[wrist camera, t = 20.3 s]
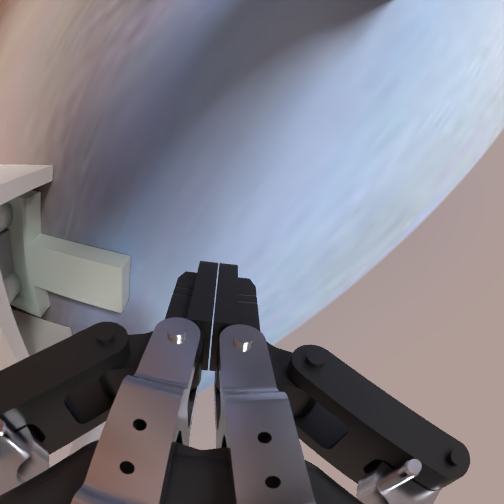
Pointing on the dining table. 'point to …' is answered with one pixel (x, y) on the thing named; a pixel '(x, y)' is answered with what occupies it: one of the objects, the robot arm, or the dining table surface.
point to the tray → (55, 263)
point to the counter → (3, 316)
